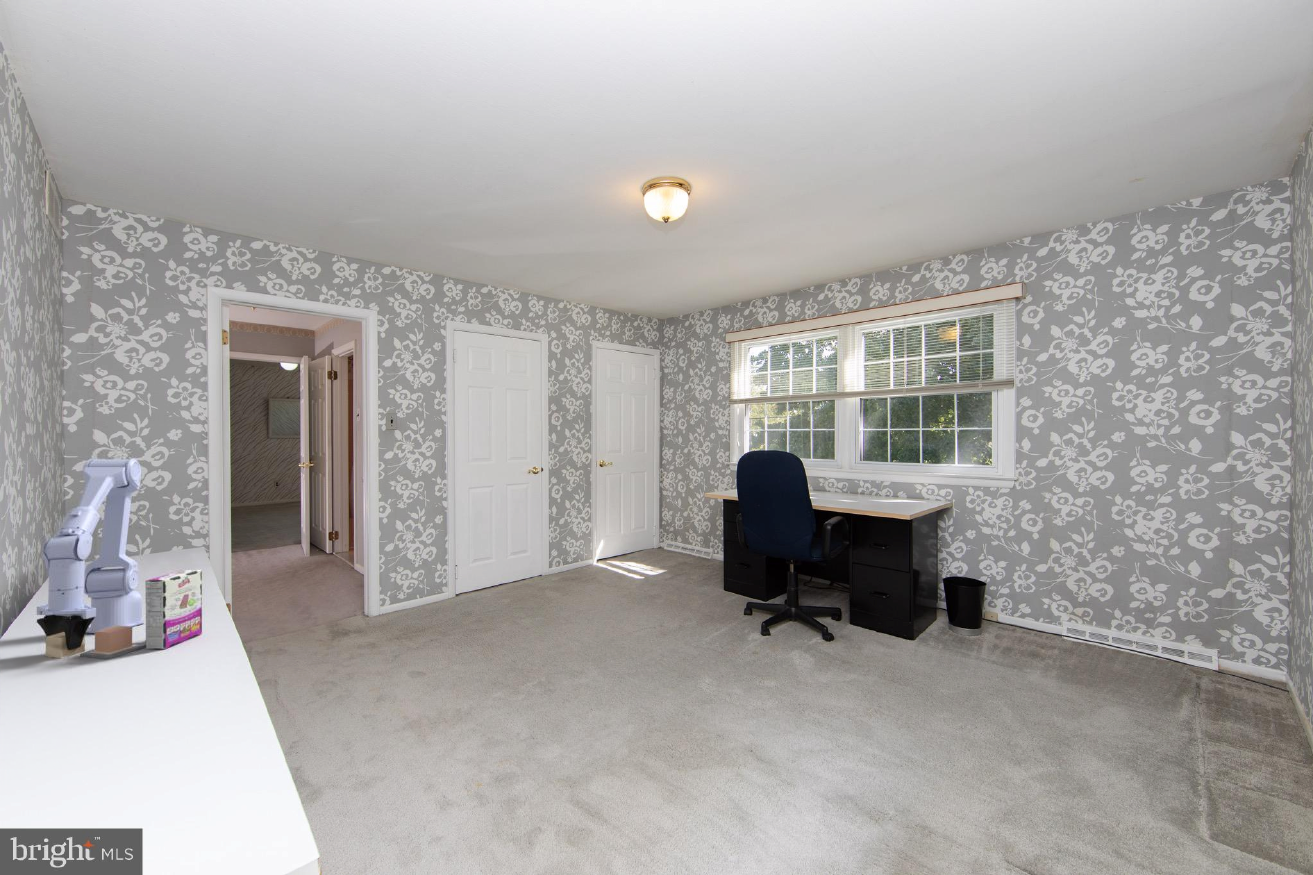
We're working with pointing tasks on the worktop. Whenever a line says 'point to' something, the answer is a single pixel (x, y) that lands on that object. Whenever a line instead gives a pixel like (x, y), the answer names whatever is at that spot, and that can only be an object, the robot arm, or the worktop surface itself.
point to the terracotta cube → (113, 638)
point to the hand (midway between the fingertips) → (65, 647)
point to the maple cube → (61, 646)
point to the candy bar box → (173, 608)
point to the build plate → (113, 654)
